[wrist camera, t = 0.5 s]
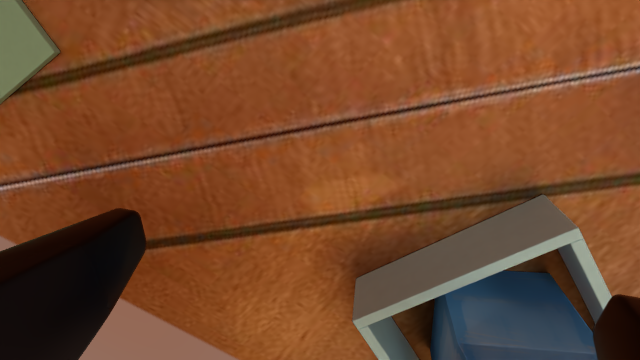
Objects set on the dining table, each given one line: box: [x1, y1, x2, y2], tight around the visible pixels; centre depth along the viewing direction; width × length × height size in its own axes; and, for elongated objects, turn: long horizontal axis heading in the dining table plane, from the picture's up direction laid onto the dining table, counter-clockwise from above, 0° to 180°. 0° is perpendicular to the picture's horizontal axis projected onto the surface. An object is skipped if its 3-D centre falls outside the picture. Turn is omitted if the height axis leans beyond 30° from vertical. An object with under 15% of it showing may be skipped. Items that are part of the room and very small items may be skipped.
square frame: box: [352, 195, 612, 360], centre depth 22 cm, size 12×12×4 cm
